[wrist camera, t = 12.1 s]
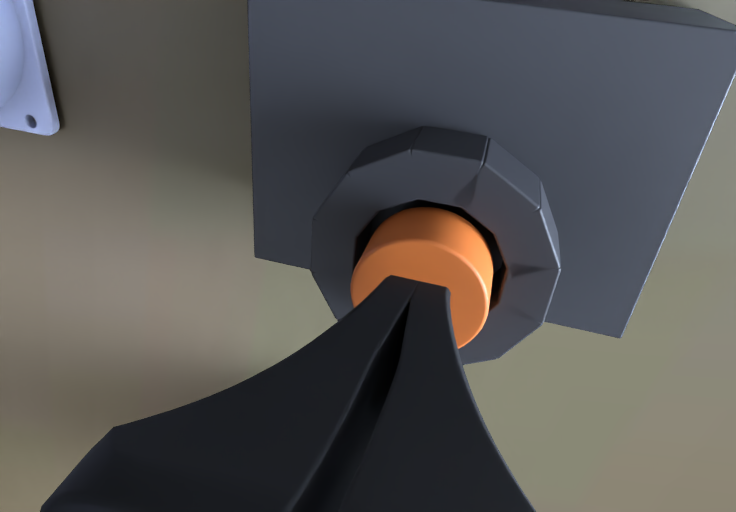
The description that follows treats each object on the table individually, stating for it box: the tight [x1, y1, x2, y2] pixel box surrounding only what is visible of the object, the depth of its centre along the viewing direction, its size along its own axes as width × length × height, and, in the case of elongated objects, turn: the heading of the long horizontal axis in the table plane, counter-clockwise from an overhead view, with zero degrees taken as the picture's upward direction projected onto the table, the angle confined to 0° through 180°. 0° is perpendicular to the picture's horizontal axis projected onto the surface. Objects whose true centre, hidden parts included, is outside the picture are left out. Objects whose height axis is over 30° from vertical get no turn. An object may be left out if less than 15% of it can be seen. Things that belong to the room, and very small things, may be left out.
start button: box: [350, 207, 493, 349], centre depth 13 cm, size 3×3×2 cm
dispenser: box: [247, 0, 736, 365], centre depth 15 cm, size 11×9×6 cm
